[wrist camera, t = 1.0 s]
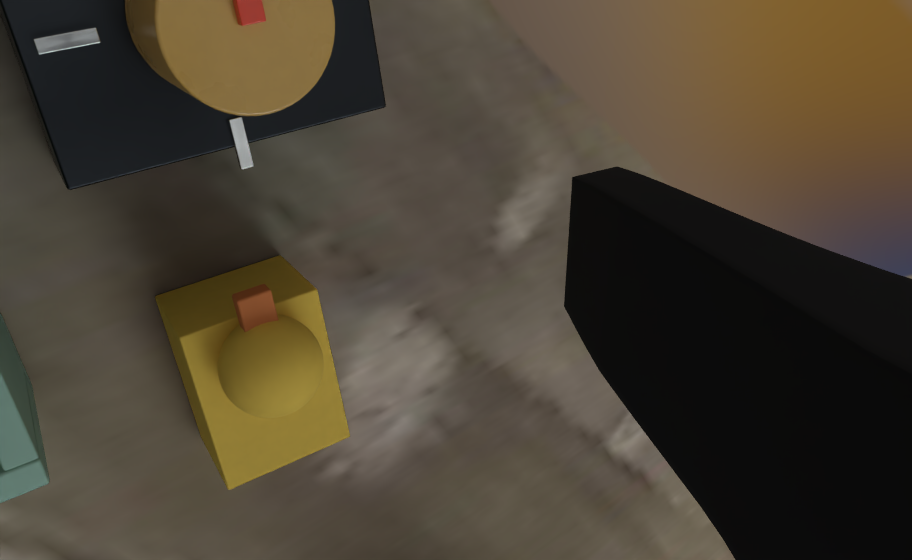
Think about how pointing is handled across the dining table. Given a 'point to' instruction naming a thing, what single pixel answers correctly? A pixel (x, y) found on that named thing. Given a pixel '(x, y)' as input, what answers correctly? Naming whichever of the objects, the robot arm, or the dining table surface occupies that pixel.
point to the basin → (18, 426)
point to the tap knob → (236, 49)
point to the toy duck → (255, 367)
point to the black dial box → (159, 91)
